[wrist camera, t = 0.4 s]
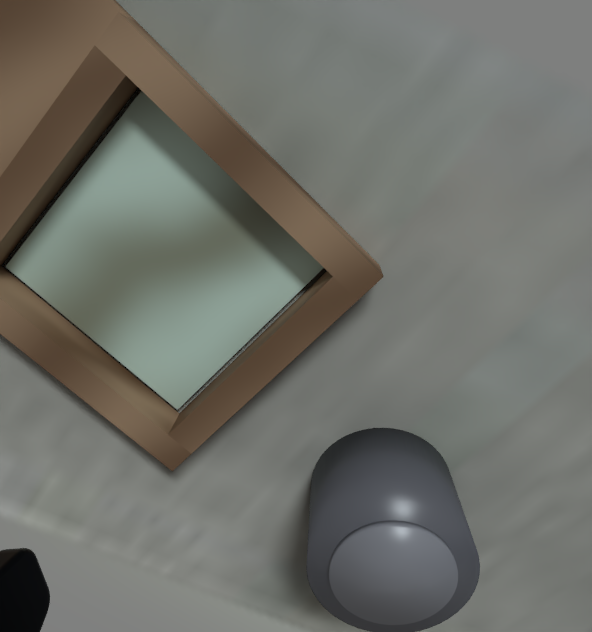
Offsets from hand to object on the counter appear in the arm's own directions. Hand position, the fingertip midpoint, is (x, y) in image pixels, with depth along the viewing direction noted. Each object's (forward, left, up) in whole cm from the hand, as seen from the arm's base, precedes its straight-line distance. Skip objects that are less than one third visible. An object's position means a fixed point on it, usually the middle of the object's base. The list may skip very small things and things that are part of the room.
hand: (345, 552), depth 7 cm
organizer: (+9, +4, -13) cm, 16 cm away
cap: (-8, +5, -13) cm, 16 cm away
